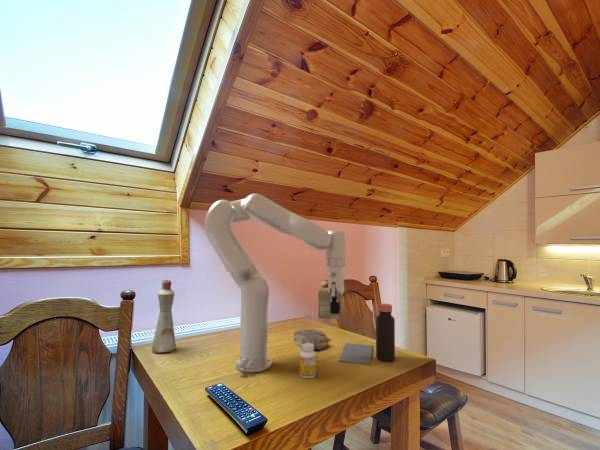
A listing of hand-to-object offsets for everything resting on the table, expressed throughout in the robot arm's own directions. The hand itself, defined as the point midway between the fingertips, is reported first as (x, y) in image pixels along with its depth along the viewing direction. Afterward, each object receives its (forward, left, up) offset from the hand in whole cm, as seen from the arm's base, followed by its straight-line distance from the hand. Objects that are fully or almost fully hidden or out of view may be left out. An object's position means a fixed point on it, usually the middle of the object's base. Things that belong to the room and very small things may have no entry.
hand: (335, 311), depth 117 cm
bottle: (-11, +67, -18) cm, 70 cm away
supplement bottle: (-17, +7, -18) cm, 25 cm away
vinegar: (+5, -18, -18) cm, 26 cm away
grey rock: (+14, +13, -18) cm, 26 cm away
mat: (+7, -7, -18) cm, 20 cm away
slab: (0, +2, -2) cm, 3 cm away
